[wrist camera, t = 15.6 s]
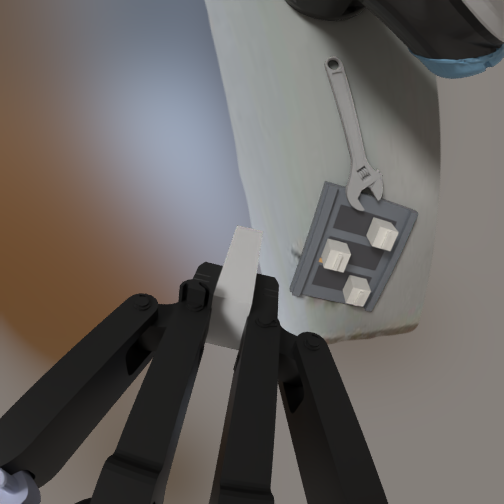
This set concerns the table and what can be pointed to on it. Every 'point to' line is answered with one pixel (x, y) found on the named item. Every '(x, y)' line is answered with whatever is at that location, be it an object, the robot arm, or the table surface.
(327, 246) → the white slider knob
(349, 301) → the white ridged block
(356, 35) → the table surface
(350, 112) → the adjustable wrench
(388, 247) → the white notched block
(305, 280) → the switch bank
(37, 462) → the robot arm
